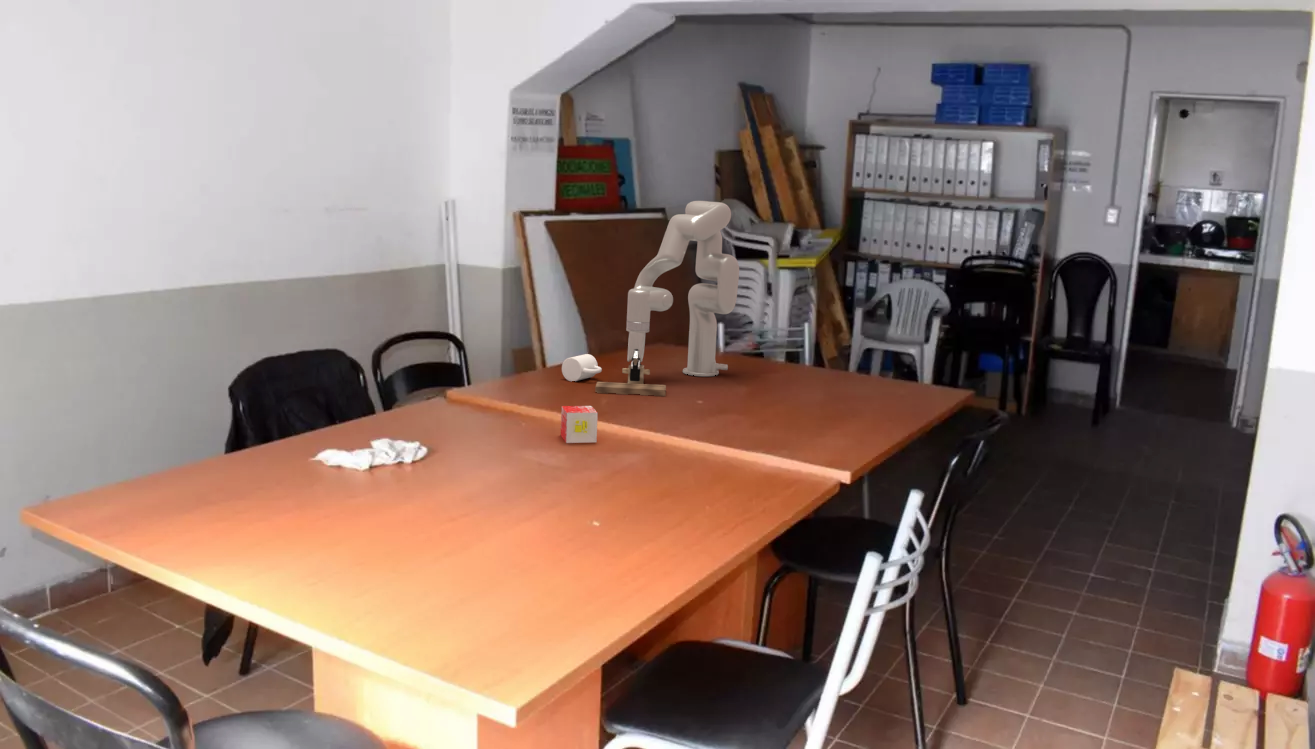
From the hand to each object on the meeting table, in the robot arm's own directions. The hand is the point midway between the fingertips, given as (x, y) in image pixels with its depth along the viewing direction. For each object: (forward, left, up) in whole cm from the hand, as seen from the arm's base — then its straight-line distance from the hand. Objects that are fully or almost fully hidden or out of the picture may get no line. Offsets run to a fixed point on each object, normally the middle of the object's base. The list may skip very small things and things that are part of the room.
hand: (635, 378), depth 356 cm
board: (+1, +14, -2) cm, 14 cm away
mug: (+17, -2, -2) cm, 17 cm away
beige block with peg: (0, 0, -2) cm, 2 cm away
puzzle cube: (+12, +77, -2) cm, 78 cm away
